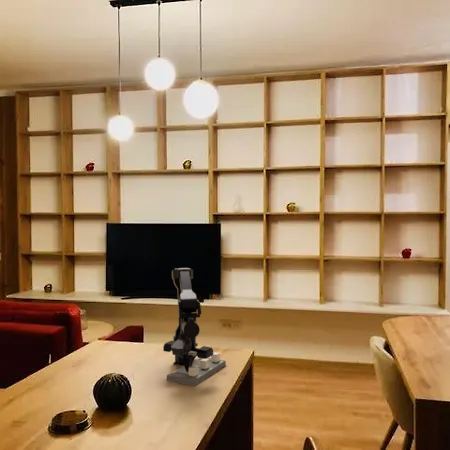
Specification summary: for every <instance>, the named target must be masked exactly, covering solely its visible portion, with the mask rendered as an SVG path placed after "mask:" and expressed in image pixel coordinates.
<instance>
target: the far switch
mask: <svg viewBox="0 0 450 450" xmlns="http://www.w3.org/2000/svg"><path fill="white" fill-rule="evenodd" d="M210 358H211V361H212V362H218V361H219V360H221V352H218V351H217V352H216V351H213V355H212V356H210Z"/></svg>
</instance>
